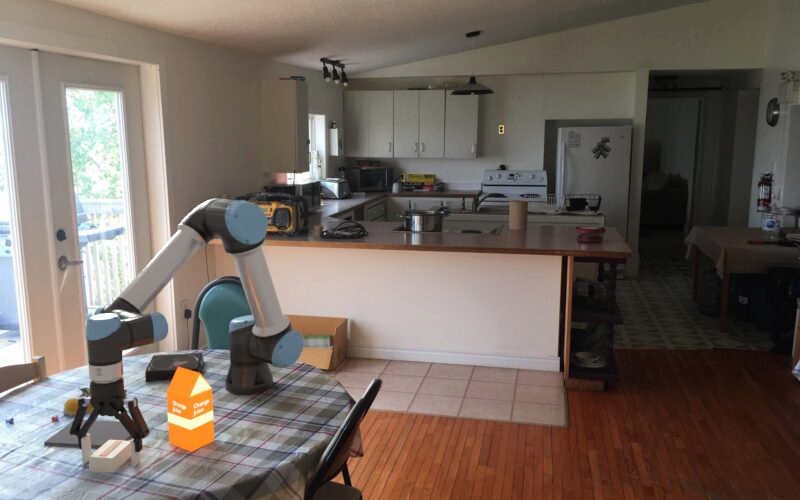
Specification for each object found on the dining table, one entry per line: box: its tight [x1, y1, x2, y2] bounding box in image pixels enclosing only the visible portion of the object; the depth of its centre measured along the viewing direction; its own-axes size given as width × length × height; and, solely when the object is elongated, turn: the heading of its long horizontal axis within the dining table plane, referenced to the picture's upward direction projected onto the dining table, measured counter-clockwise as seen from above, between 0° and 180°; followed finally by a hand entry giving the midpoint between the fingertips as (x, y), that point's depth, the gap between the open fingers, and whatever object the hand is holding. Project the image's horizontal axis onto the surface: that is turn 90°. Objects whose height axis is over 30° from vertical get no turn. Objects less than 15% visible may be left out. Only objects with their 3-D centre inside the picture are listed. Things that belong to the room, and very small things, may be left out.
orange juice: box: [166, 367, 215, 452], centre depth 169 cm, size 8×9×20 cm
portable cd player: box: [144, 352, 205, 383], centre depth 221 cm, size 16×17×4 cm
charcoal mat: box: [43, 419, 132, 449], centre depth 173 cm, size 20×14×1 cm
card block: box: [88, 440, 131, 474], centre depth 158 cm, size 6×9×4 cm, turn 174°
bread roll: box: [63, 397, 94, 417], centre depth 189 cm, size 8×9×4 cm
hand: (111, 462), depth 158 cm, fingers open, 12 cm apart
